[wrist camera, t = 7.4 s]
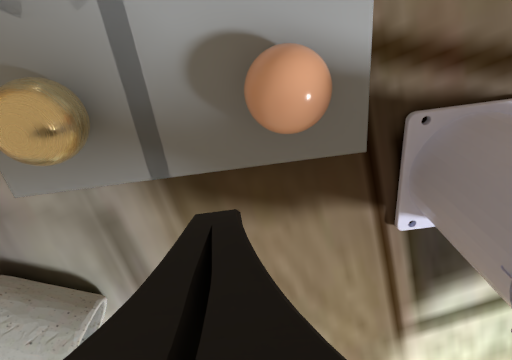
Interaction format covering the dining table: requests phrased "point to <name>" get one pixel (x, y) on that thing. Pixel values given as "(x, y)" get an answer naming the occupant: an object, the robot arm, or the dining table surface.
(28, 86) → the brass ball
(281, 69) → the terracotta ball
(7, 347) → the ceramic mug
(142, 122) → the bearing plate
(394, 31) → the dining table surface
